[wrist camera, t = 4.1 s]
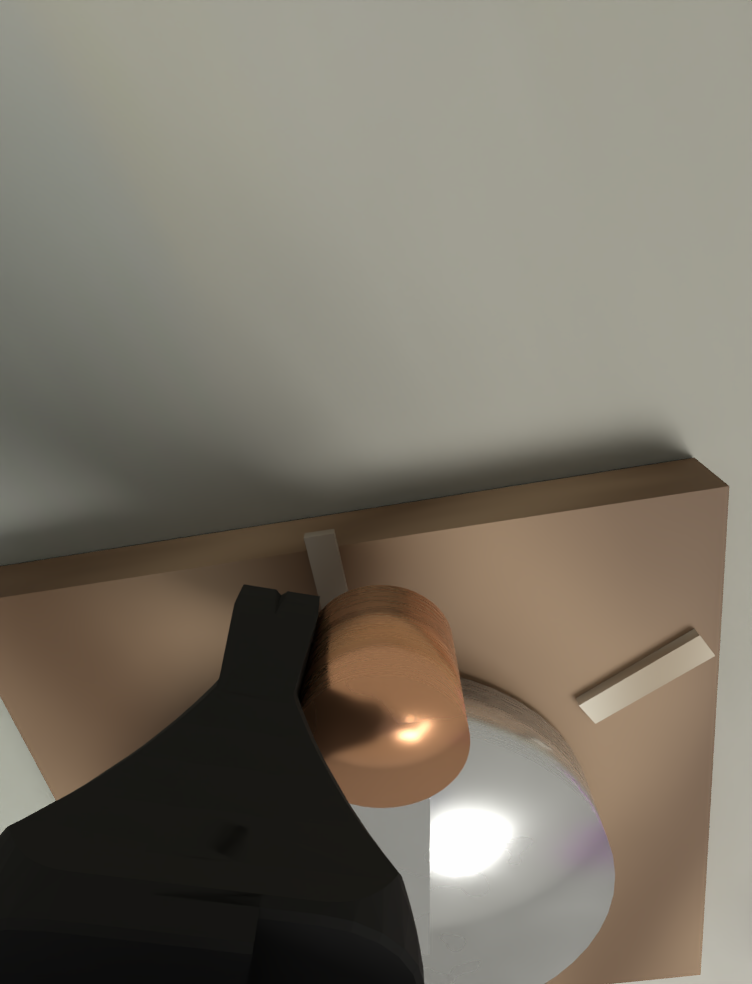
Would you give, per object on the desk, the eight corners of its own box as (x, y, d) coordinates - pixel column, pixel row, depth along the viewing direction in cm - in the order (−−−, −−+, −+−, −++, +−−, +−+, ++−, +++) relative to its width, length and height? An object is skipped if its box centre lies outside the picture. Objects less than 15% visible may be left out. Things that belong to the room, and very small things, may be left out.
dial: (570, 947, 18) (620, 1140, 14) (216, 954, 18) (175, 1148, 15) (633, 527, 13) (742, 666, 9) (124, 542, 13) (20, 684, 9)
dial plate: (189, 975, 21) (175, 1036, 20) (-18, 553, 15) (-64, 596, 13) (678, 922, 20) (704, 983, 19) (694, 440, 14) (737, 472, 12)
